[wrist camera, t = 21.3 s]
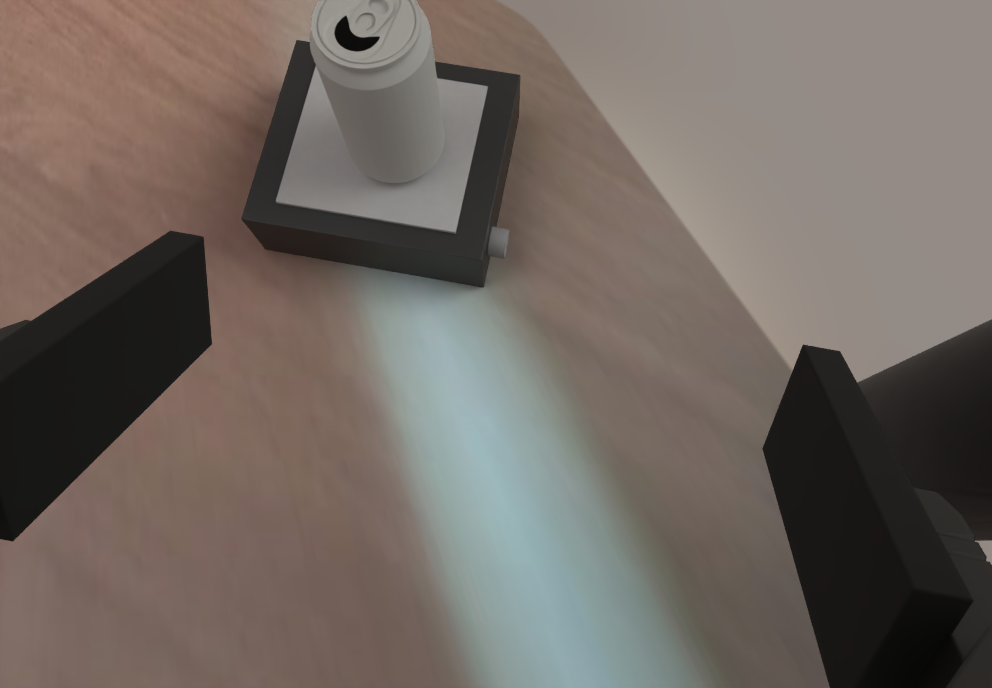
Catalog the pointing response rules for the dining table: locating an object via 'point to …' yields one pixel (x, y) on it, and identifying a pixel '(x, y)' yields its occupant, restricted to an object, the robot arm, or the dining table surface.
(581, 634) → the dining table surface
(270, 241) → the cup warmer
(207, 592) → the dining table surface
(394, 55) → the beverage can
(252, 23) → the dining table surface
